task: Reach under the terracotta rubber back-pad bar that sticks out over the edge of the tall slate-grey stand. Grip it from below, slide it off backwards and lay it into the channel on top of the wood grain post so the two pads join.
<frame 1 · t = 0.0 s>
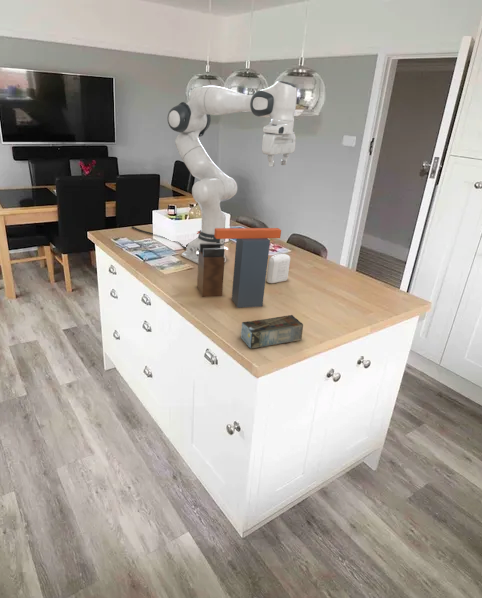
hand: (277, 165, 167), 48 cm above the counter, tool pointing down, fingers open, 8 cm apart
back pad: (247, 237, 149), point 26 cm above the counter, touching stand
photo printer: (276, 281, 183), on the counter
stand: (246, 302, 161), on the counter
wood grain post: (209, 291, 168), on the counter
beverage carton: (270, 340, 136), on the counter
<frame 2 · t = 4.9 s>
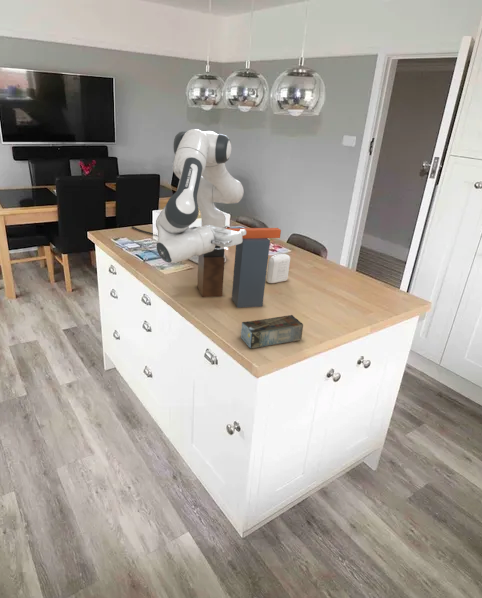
hand: (236, 229, 146), 29 cm above the counter, tool horizontal, fingers open, 8 cm apart
nothing on the counter moved.
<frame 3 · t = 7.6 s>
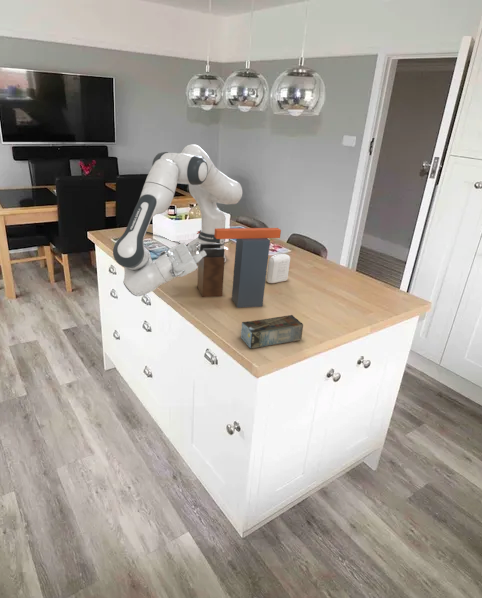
hand: (202, 247, 147), 22 cm above the counter, tool pointing upward, fingers open, 8 cm apart
nothing on the counter moved.
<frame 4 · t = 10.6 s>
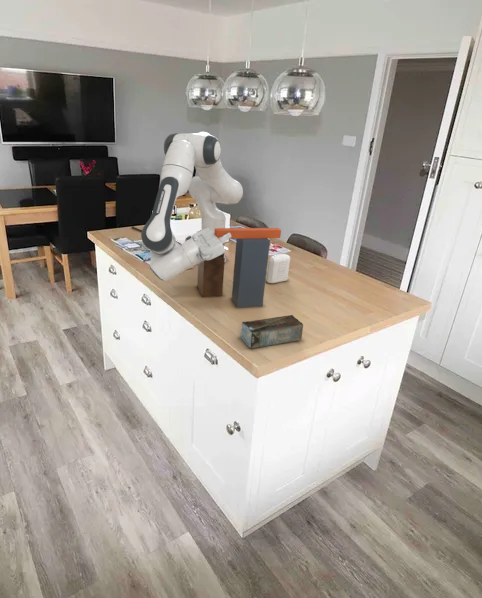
hand: (228, 232, 147), 28 cm above the counter, tool pointing upward, fingers closed on back pad, 3 cm apart
back pad: (247, 237, 149), point 26 cm above the counter, touching gripper, stand
everything else where it was.
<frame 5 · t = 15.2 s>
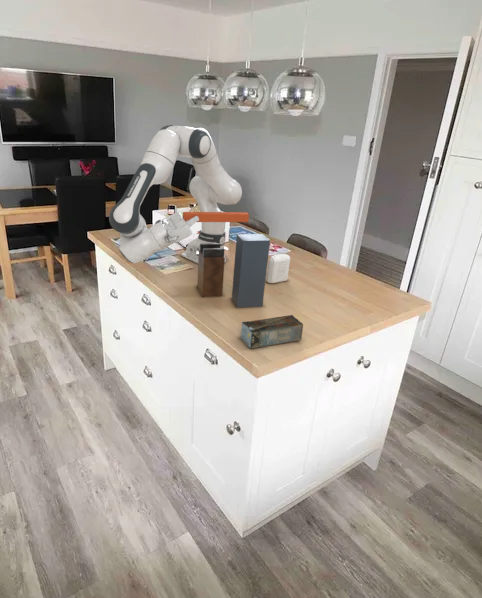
hand: (196, 215, 150), 32 cm above the counter, tool pointing upward, fingers closed on back pad, 3 cm apart
back pad: (216, 221, 152), point 30 cm above the counter, touching gripper
everything else where it was.
when the fingers open (18 cm above the counter, at t = 19.8 s): back pad stays where it is, resting on wood grain post.
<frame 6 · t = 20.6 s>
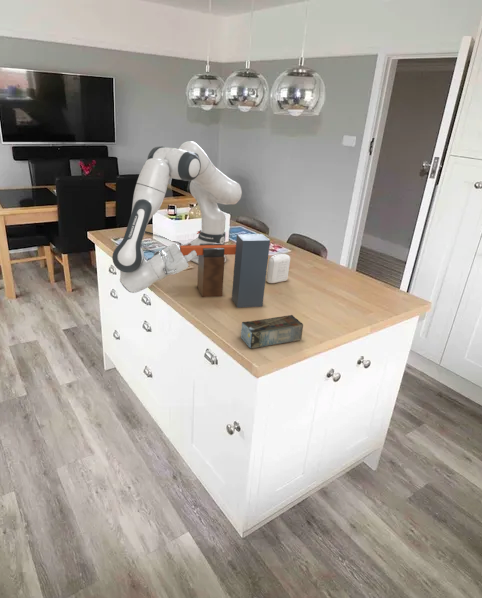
hand: (193, 248, 158), 18 cm above the counter, tool pointing upward, fingers open, 8 cm apart
back pad: (211, 253, 161), point 16 cm above the counter, touching wood grain post
everything else where it was.
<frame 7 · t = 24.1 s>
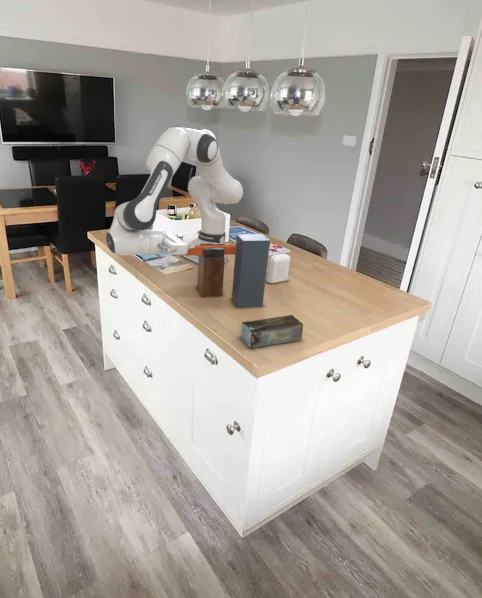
hand: (187, 241, 156), 21 cm above the counter, tool horizontal, fingers open, 8 cm apart
nothing on the counter moved.
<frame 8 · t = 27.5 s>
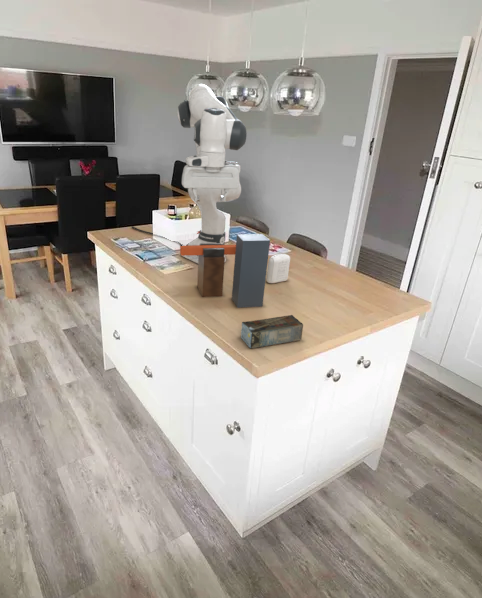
hand: (209, 201, 148), 37 cm above the counter, tool pointing down, fingers open, 8 cm apart
nothing on the counter moved.
at the end: back pad inside the target area on the wood grain post (0.1 cm from its centre), point 16.0 cm above the wood grain post's base; back pad touching wood grain post; the gripper is holding nothing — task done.
